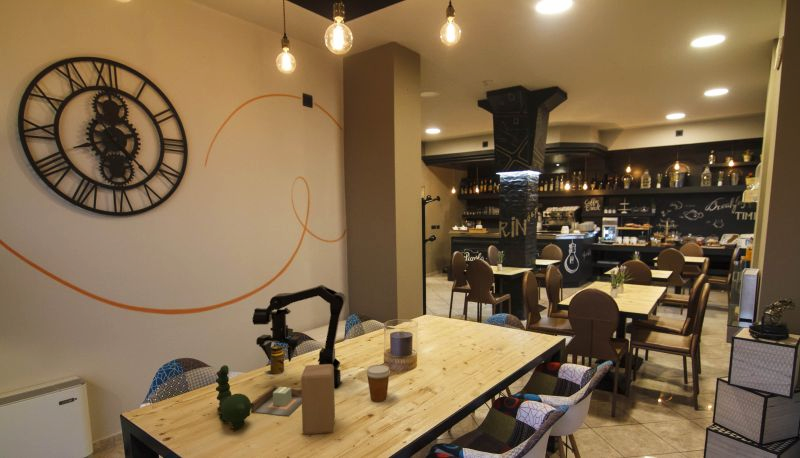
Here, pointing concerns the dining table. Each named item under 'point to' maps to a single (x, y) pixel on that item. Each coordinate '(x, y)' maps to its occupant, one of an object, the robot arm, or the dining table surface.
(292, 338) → the robot arm
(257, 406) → the arena
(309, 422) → the wooden block
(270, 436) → the dining table surface
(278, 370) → the condiment
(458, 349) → the dining table surface
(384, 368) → the disposable coffee cup
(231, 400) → the toy figurine
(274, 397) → the cube
